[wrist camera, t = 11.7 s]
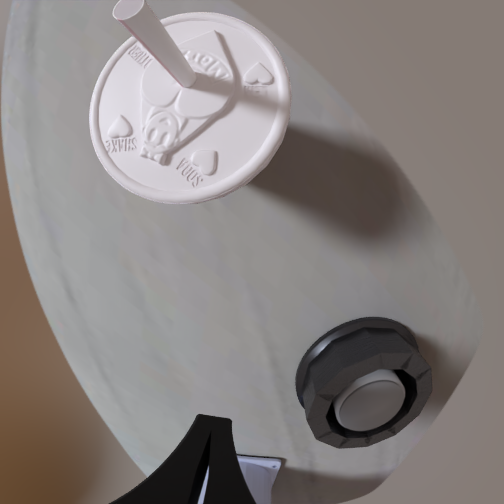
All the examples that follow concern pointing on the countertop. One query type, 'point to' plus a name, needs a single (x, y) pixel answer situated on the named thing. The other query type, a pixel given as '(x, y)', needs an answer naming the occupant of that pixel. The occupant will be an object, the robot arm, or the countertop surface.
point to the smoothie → (188, 105)
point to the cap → (369, 400)
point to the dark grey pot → (358, 365)
